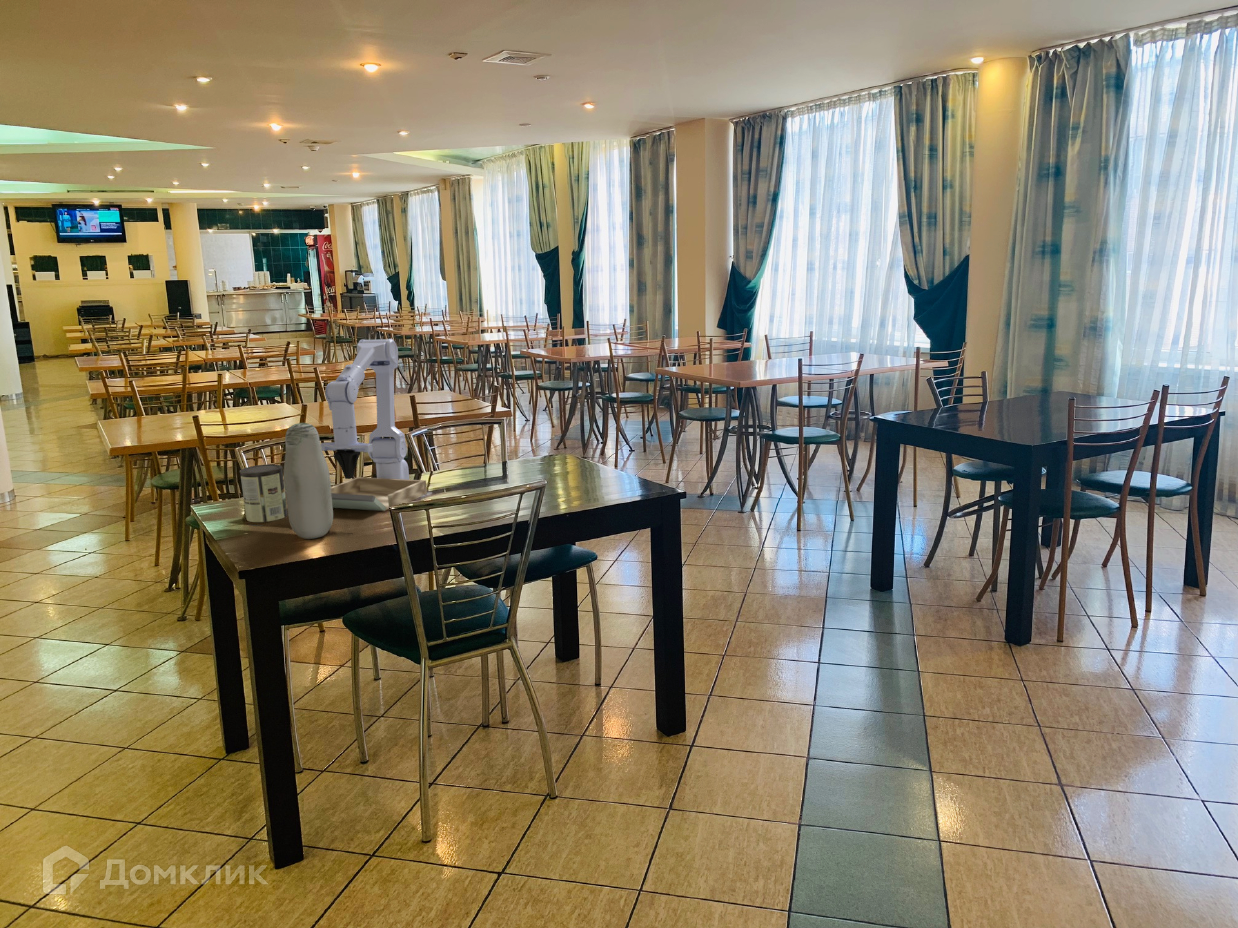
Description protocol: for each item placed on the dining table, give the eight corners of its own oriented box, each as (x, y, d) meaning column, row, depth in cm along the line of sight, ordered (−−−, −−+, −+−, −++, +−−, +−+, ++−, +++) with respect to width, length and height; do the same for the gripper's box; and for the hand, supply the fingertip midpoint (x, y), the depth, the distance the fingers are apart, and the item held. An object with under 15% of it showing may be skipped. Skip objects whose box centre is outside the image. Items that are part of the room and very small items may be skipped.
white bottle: (297, 532, 220) (284, 420, 214) (339, 530, 220) (328, 419, 214) (285, 544, 210) (272, 427, 204) (329, 542, 211) (317, 425, 205)
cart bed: (359, 493, 258) (357, 477, 257) (427, 497, 250) (425, 480, 249) (322, 509, 242) (320, 491, 241) (393, 513, 235) (391, 495, 234)
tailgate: (325, 503, 241) (311, 492, 235) (386, 507, 234) (373, 495, 229) (323, 508, 240) (309, 496, 234) (385, 511, 234) (371, 500, 228)
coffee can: (263, 515, 238) (256, 463, 235) (296, 516, 235) (290, 464, 232) (237, 525, 228) (230, 472, 225) (271, 527, 225) (265, 473, 222)
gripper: (311, 429, 230) (316, 480, 233) (359, 430, 226) (364, 482, 228) (328, 424, 237) (333, 474, 240) (375, 425, 232) (379, 476, 235)
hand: (349, 478), depth 234 cm, fingers closed
